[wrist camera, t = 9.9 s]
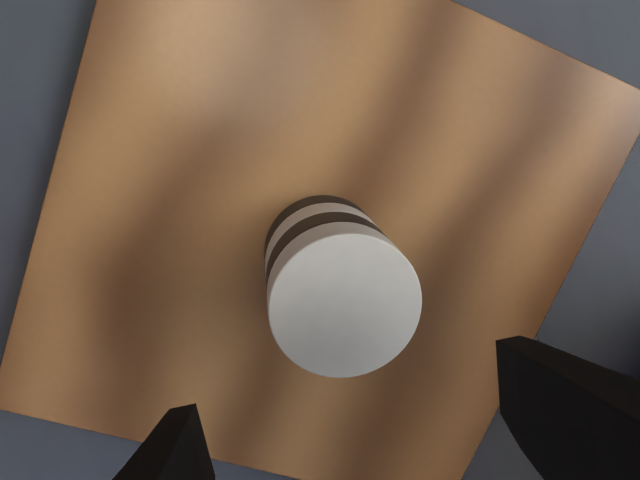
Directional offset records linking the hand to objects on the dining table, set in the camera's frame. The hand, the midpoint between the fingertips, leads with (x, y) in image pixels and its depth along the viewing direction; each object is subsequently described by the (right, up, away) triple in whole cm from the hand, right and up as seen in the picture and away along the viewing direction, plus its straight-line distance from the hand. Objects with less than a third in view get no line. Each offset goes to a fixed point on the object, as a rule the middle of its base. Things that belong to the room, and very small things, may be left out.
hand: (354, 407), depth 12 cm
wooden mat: (-1, +4, +8) cm, 9 cm away
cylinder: (-1, +3, +8) cm, 8 cm away
